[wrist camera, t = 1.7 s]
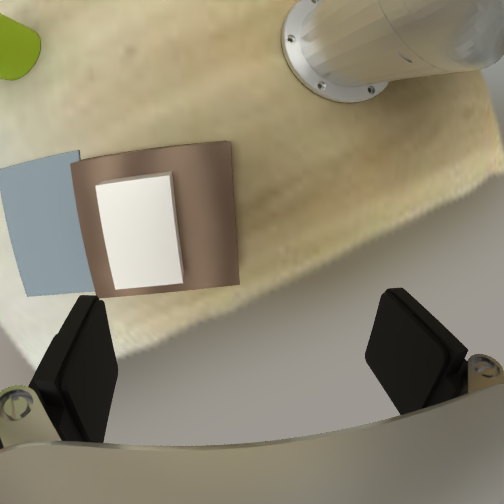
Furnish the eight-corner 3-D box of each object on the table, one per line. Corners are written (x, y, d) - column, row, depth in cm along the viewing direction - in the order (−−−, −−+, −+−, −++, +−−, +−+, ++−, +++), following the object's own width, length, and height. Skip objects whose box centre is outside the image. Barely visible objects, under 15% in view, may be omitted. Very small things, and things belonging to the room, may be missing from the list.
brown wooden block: (226, 140, 29) (230, 142, 26) (234, 267, 34) (239, 284, 31) (84, 159, 28) (70, 163, 24) (106, 280, 32) (97, 298, 29)
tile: (172, 171, 26) (169, 175, 24) (183, 270, 29) (182, 283, 27) (103, 180, 25) (95, 185, 23) (121, 277, 28) (115, 289, 26)
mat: (79, 149, 27) (78, 150, 27) (104, 289, 33) (103, 290, 32) (-2, 169, 26) (-3, 170, 26) (28, 295, 31) (27, 296, 31)
